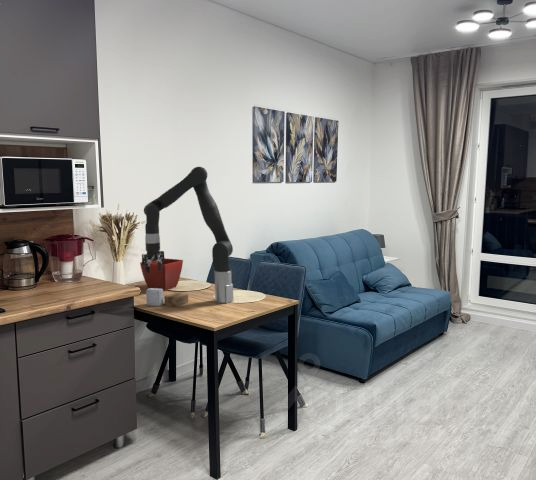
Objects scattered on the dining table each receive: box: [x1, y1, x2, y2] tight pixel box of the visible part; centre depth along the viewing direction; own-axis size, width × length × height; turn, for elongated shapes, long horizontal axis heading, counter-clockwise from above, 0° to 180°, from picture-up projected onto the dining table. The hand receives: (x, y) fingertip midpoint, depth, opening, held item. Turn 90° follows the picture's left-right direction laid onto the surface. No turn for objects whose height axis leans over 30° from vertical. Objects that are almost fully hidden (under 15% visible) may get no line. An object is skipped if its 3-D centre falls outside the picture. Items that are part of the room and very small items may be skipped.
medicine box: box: [145, 288, 165, 307], centre depth 262 cm, size 8×4×9 cm, turn 74°
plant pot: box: [139, 258, 184, 291], centre depth 301 cm, size 19×19×17 cm
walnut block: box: [163, 292, 189, 308], centre depth 264 cm, size 9×9×5 cm
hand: (153, 271), depth 260 cm, fingers open, 8 cm apart
